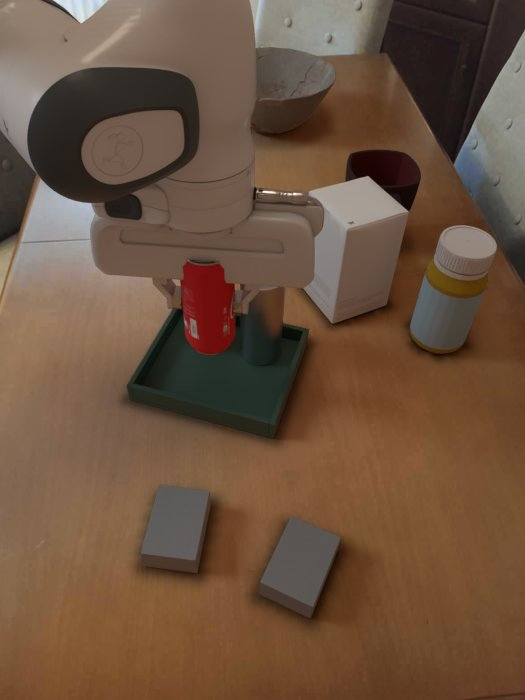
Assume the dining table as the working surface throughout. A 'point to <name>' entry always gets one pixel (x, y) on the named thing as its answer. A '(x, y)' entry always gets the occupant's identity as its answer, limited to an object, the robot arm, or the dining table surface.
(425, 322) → the bottle
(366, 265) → the rectangular carton
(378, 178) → the cup
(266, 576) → the grey block right
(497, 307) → the dining table surface
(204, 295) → the beverage can
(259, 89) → the ceramic bowl
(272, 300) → the silver cans
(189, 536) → the thick grey tile
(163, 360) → the can tray
